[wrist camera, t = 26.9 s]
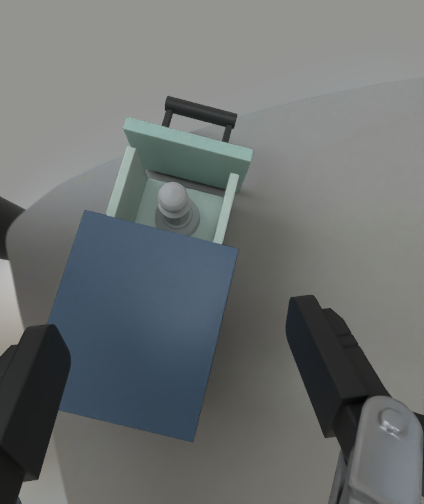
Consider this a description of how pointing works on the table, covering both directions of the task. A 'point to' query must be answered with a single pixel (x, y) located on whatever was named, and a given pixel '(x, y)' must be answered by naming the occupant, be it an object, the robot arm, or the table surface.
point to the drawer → (180, 168)
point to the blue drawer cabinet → (141, 323)
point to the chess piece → (176, 210)
